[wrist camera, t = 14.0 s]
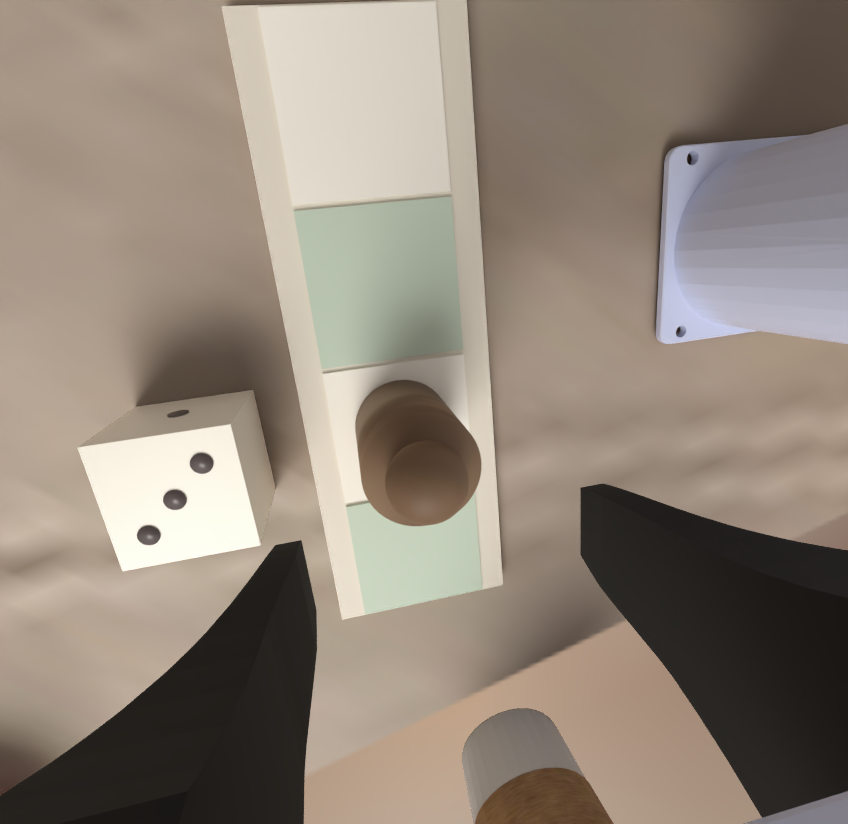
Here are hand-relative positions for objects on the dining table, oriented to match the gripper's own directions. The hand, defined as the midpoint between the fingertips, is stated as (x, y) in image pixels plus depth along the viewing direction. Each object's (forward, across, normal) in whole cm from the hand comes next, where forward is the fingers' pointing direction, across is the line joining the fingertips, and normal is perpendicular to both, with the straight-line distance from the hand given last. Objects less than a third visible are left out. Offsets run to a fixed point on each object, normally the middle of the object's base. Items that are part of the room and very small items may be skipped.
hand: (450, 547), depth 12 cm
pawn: (+9, 0, 0) cm, 9 cm away
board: (+9, 0, -3) cm, 10 cm away
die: (+10, +8, 0) cm, 12 cm away
